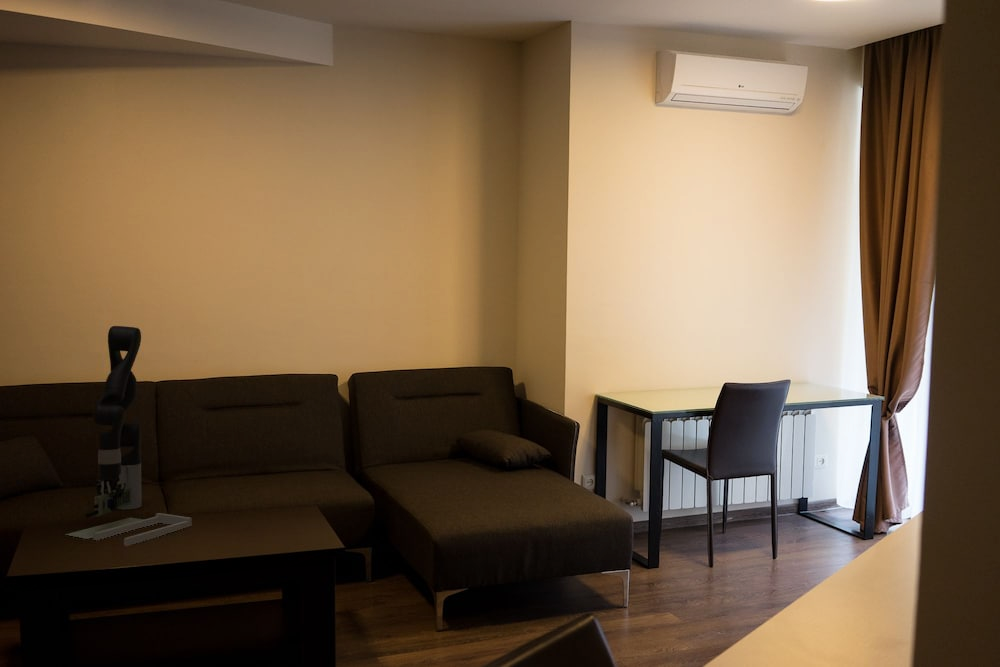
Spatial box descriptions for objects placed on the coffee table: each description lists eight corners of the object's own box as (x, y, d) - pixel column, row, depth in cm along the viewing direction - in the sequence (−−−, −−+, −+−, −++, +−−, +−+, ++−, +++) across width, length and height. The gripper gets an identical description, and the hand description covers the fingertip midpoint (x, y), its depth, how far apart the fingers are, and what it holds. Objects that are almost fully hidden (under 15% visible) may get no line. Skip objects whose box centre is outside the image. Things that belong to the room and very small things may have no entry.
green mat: (64, 535, 314) (64, 534, 314) (130, 518, 339) (130, 517, 339) (87, 539, 309) (87, 538, 309) (151, 522, 334) (151, 520, 334)
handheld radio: (132, 504, 336) (91, 519, 311) (124, 503, 336) (82, 519, 312) (133, 486, 336) (91, 500, 311) (124, 485, 336) (82, 499, 312)
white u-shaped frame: (93, 540, 308) (93, 530, 308) (158, 522, 334) (158, 512, 334) (127, 546, 301) (127, 535, 301) (191, 527, 327) (191, 517, 327)
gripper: (132, 461, 324) (132, 509, 324) (104, 458, 330) (104, 505, 330) (115, 464, 317) (115, 514, 317) (86, 461, 323) (87, 509, 324)
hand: (110, 509), depth 324 cm, fingers closed on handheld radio, 3 cm apart
